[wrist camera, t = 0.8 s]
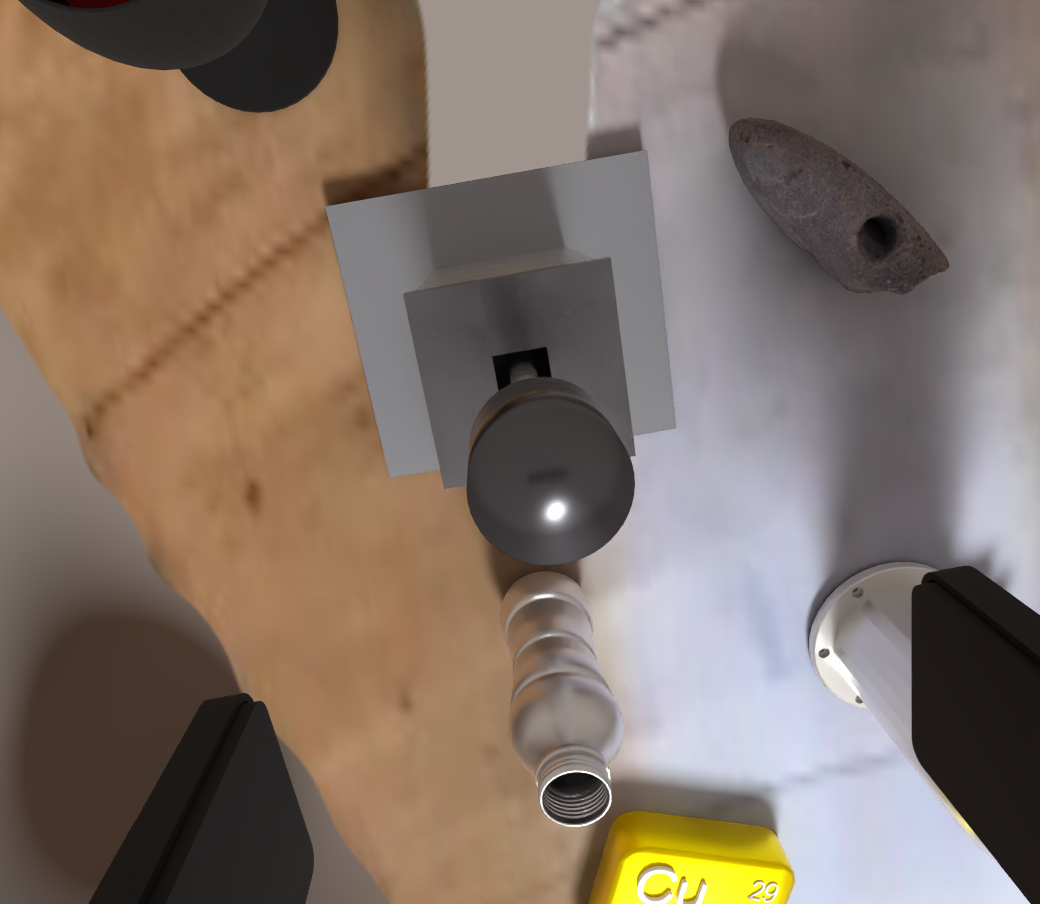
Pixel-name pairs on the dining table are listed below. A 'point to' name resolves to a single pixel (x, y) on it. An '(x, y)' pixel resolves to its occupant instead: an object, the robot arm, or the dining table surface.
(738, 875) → the element tile
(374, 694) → the dining table surface
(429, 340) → the grey block
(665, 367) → the grey board
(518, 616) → the plastic bottle
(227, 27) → the wine glass
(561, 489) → the dark grey cylinder
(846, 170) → the perforated stone tool
